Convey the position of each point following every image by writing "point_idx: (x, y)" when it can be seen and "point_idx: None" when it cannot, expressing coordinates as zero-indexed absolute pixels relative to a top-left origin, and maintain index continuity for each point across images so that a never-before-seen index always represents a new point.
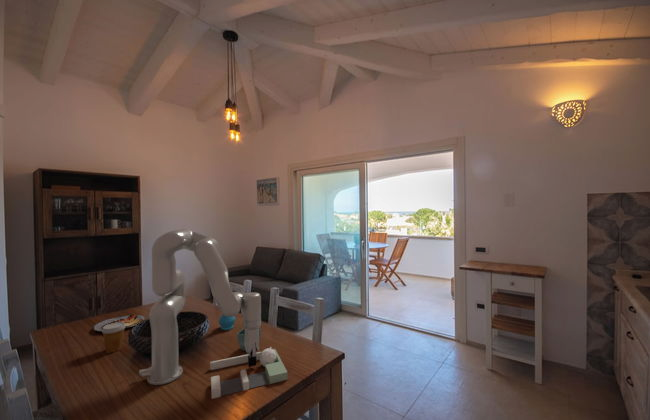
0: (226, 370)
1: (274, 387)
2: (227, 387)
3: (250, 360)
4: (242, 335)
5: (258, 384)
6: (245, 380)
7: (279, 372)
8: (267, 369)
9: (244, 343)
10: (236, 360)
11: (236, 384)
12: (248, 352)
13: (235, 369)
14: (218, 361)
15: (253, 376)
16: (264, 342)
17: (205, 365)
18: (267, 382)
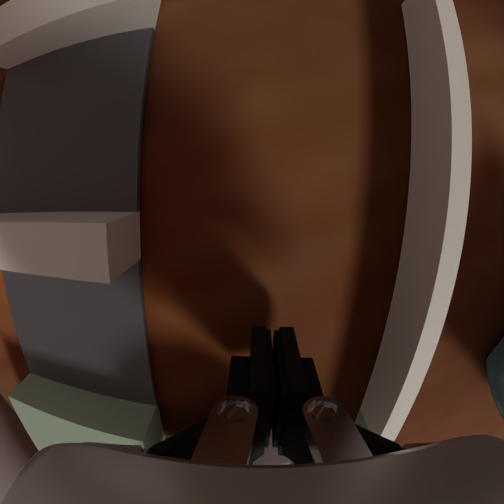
0: (347, 103)
1: (11, 372)
2: (50, 98)
3: (250, 378)
4: None
5: (23, 316)
6: None
7: (42, 445)
8: (73, 424)
9: (480, 466)
10: (426, 224)
11: (52, 167)
12: (32, 459)
13: (323, 188)
14: (442, 34)
15: (109, 318)
16: (500, 415)
17: (469, 12)
18: (36, 366)
